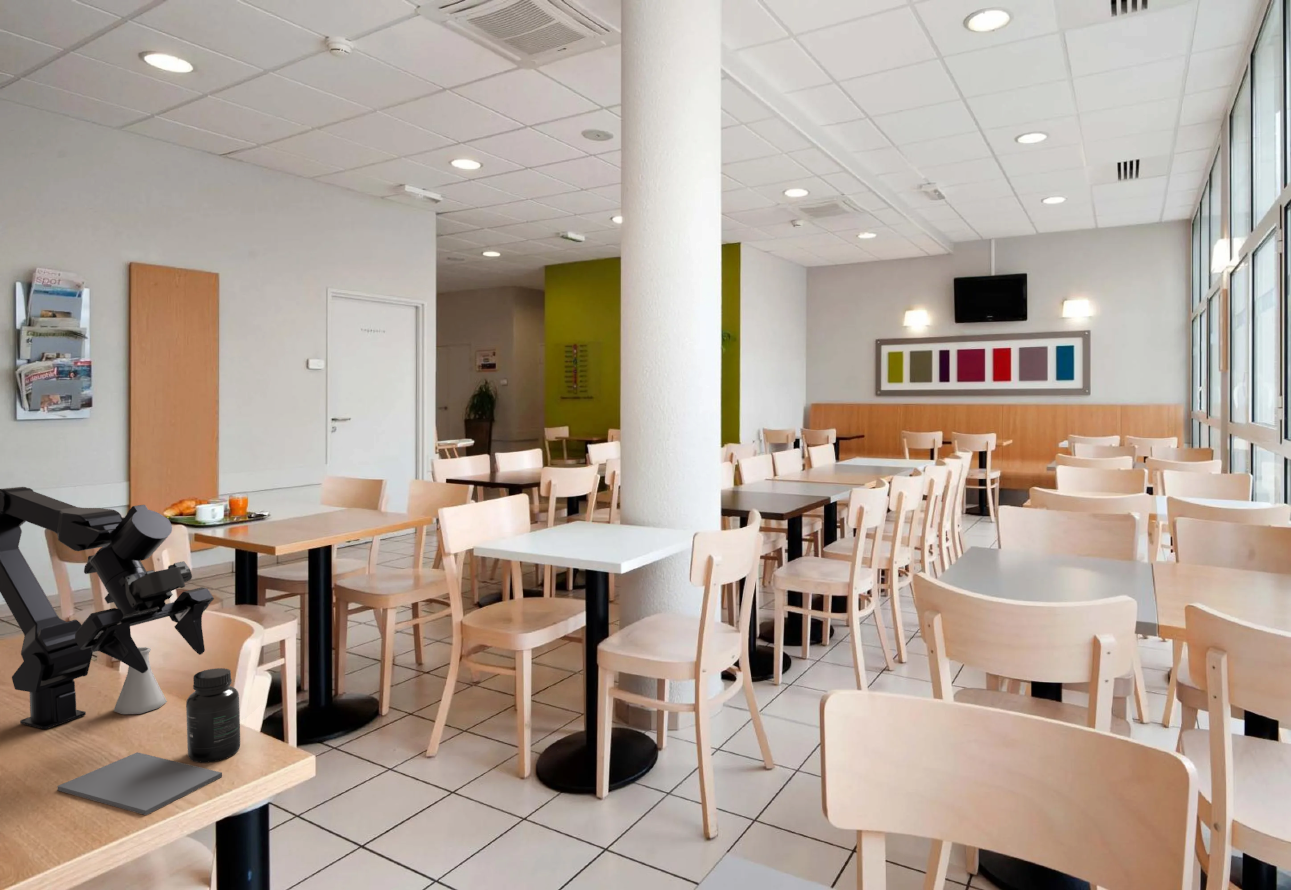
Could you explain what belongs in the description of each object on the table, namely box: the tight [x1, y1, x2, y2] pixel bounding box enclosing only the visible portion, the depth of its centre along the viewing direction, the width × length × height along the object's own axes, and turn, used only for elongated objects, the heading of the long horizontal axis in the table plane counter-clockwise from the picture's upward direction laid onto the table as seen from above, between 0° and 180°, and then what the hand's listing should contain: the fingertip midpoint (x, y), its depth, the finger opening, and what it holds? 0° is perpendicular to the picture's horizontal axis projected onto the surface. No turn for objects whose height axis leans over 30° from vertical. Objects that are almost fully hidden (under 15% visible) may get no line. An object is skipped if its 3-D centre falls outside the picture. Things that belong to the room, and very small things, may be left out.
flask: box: [113, 646, 168, 715], centre depth 134 cm, size 7×7×10 cm
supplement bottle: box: [185, 667, 241, 764], centre depth 116 cm, size 7×7×12 cm
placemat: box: [56, 751, 223, 816], centre depth 107 cm, size 17×11×1 cm, turn 68°
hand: (174, 661), depth 119 cm, fingers open, 9 cm apart
